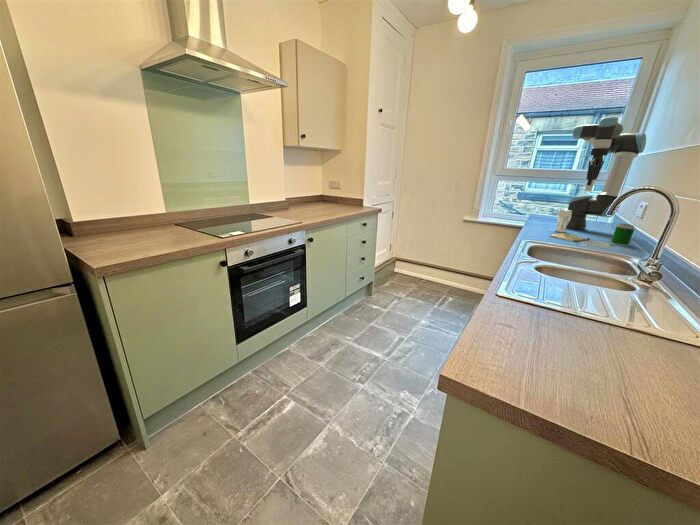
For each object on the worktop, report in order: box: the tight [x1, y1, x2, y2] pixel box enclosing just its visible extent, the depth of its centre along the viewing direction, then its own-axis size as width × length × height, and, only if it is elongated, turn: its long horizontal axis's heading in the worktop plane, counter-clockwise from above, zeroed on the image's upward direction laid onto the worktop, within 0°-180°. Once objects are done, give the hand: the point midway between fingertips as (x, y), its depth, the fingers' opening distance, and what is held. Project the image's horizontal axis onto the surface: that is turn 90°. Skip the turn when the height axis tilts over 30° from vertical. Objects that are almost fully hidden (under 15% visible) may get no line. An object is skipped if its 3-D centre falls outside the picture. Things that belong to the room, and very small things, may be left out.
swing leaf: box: [549, 232, 591, 244], centre depth 167 cm, size 16×14×2 cm
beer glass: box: [554, 208, 572, 233], centre depth 185 cm, size 7×7×15 cm
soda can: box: [610, 223, 635, 246], centre depth 158 cm, size 8×8×12 cm
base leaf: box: [578, 239, 618, 249], centre depth 157 cm, size 16×14×2 cm
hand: (587, 191), depth 167 cm, fingers closed
